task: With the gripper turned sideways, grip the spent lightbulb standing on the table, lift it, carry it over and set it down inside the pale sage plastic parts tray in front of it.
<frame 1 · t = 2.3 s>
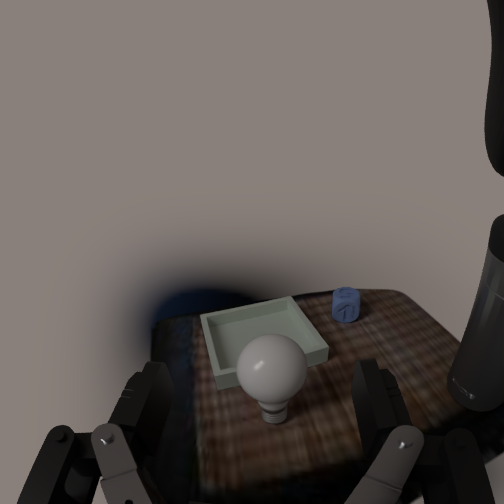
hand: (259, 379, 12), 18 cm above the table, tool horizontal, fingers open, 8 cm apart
parts tray: (259, 344, 41), on the table
lightbulb: (274, 418, 29), on the table
decorative dice: (344, 316, 45), on the table
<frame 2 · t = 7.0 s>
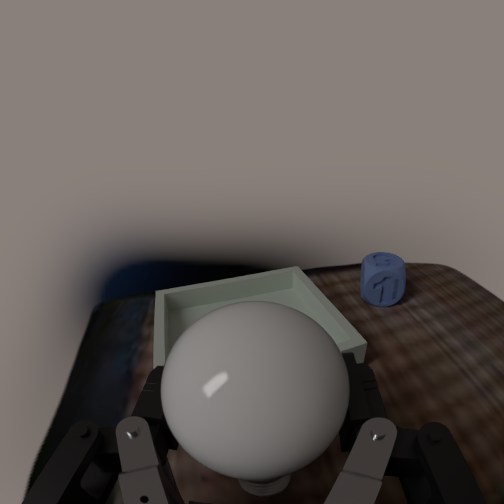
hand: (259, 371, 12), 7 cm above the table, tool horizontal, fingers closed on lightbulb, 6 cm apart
parts tray: (246, 340, 24), on the table
lightbulb: (265, 481, 13), on the table, touching gripper
decorative dice: (379, 298, 29), on the table
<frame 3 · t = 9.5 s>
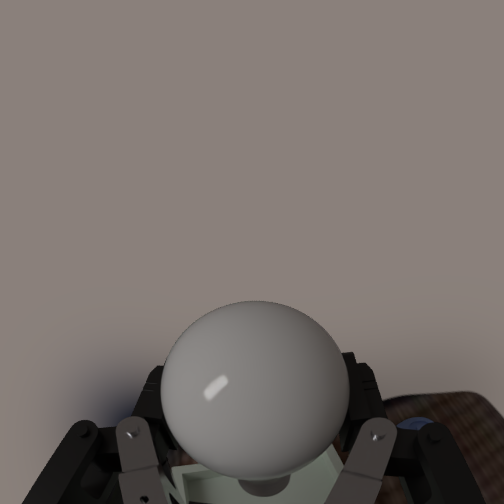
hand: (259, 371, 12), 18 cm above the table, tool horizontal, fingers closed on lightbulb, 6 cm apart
lightbulb: (264, 481, 13), point 11 cm above the table, touching gripper
decorative dice: (406, 455, 22), on the table
when the fingers open (8 cm above the table, at t = 12.3 s): lightbulb stays where it is, resting on parts tray.
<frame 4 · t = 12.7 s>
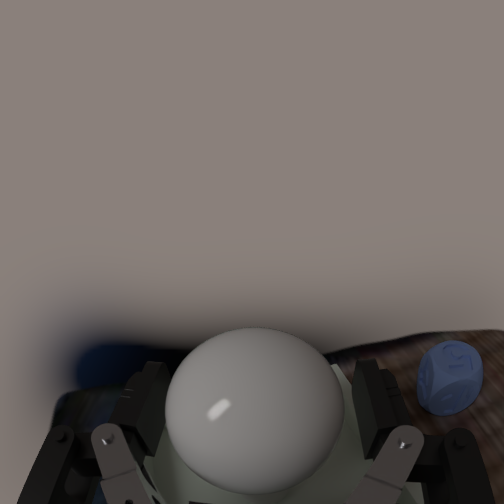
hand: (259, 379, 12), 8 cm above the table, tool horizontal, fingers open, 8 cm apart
parts tray: (265, 490, 13), on the table
lightbulb: (264, 490, 13), resting on parts tray
decorative dice: (439, 398, 18), on the table
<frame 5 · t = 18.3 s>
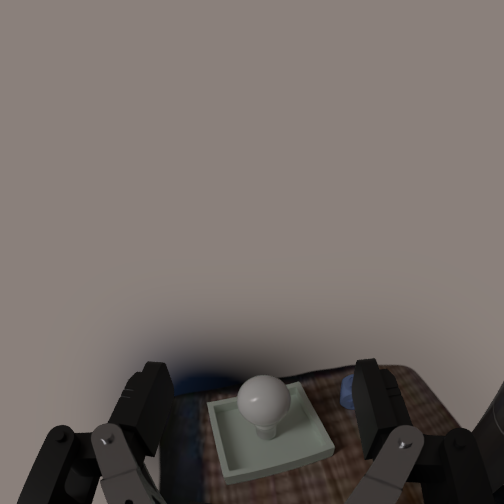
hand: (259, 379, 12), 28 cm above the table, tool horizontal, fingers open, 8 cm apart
parts tray: (267, 435, 37), on the table
lightbulb: (266, 435, 36), resting on parts tray
decorative dice: (352, 400, 41), on the table
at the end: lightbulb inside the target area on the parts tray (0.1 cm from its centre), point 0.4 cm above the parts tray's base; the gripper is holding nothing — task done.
